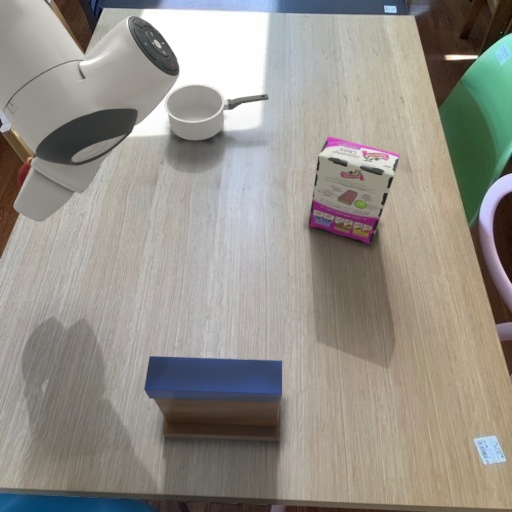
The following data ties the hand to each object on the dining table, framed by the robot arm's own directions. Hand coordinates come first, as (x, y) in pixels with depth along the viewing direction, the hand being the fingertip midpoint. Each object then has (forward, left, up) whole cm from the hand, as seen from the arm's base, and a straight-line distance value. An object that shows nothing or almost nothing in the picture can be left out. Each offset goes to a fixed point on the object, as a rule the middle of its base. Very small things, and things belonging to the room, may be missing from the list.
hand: (34, 177), depth 67 cm
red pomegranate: (0, 0, -5) cm, 5 cm away
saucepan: (+38, -3, -16) cm, 41 cm away
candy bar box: (+29, -36, -16) cm, 49 cm away
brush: (-9, -39, -15) cm, 42 cm away
